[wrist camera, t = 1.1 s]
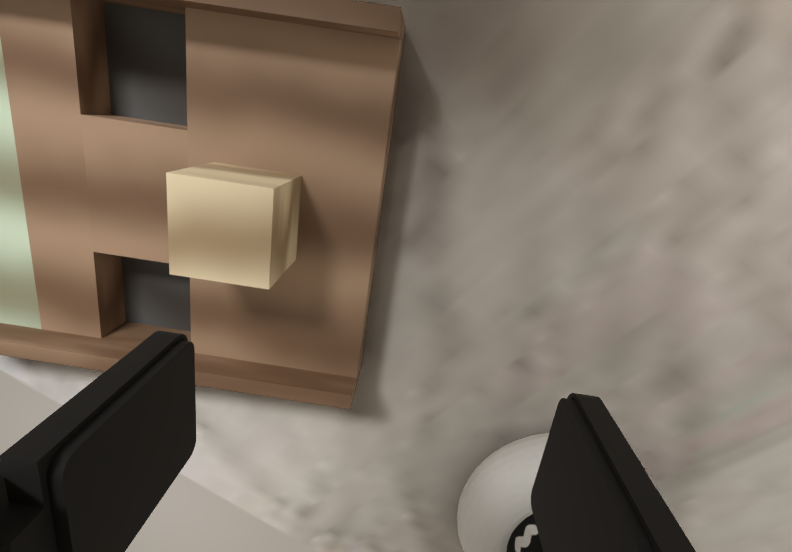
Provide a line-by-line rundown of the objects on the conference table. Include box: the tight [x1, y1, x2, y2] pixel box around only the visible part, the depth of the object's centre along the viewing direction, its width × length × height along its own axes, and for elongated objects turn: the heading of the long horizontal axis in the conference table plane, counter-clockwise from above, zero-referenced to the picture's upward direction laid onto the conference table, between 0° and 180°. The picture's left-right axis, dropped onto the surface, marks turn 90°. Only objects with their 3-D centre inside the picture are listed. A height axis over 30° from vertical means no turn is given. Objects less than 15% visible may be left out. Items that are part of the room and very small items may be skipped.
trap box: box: [0, 0, 405, 409], centre depth 27 cm, size 22×28×5 cm
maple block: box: [166, 162, 302, 289], centre depth 24 cm, size 5×5×5 cm
